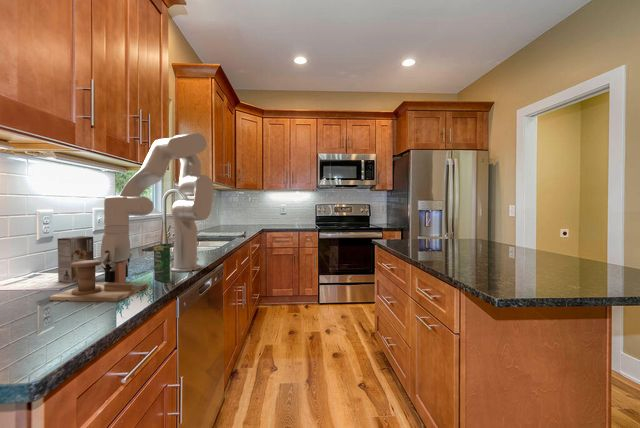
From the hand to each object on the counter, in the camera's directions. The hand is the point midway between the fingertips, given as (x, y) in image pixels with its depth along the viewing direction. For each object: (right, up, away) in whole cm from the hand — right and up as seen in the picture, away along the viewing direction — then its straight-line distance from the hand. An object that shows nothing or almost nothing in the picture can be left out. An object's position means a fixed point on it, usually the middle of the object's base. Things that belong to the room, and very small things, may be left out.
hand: (116, 279), depth 113 cm
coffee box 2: (+13, -2, +7) cm, 15 cm away
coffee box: (-19, -1, +6) cm, 20 cm away
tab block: (0, -2, 0) cm, 2 cm away
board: (+3, -2, -11) cm, 12 cm away
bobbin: (0, -1, -14) cm, 15 cm away
